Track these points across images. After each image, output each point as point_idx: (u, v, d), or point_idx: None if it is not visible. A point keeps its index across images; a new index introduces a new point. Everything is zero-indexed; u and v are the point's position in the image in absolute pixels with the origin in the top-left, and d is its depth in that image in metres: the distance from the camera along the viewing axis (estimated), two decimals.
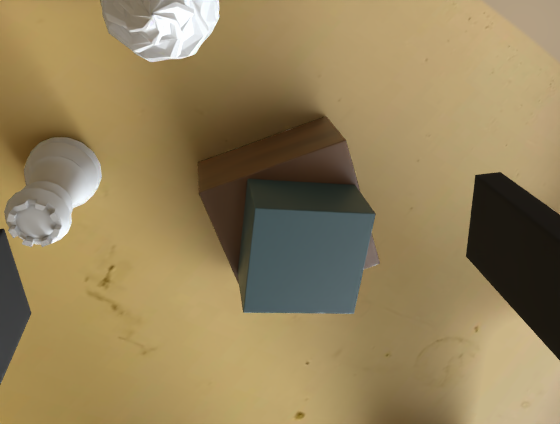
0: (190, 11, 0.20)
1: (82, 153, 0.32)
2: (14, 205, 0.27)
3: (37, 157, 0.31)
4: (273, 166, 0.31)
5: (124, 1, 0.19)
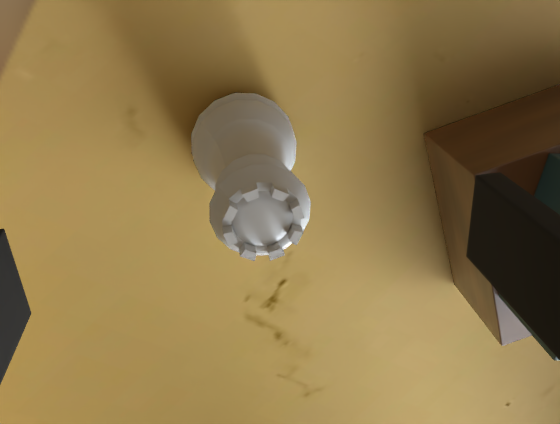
0: None
1: (281, 116, 0.22)
2: (233, 192, 0.16)
3: (221, 122, 0.21)
4: None
5: None
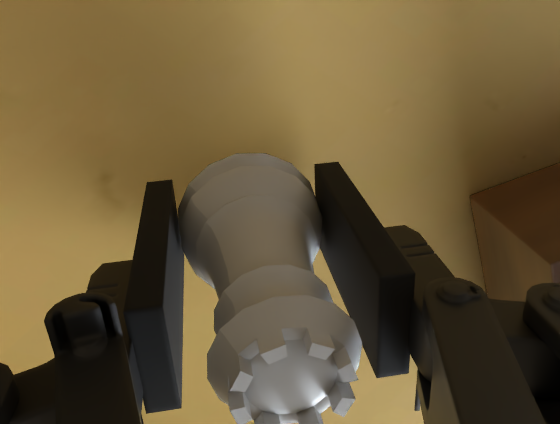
0: None
1: (302, 186, 0.16)
2: (245, 344, 0.10)
3: (219, 199, 0.15)
4: None
5: None
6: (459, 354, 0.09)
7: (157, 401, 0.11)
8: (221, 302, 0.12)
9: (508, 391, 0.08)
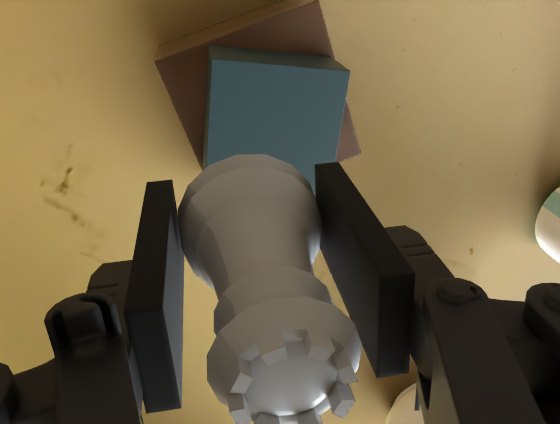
0: None
1: (302, 187, 0.16)
2: (244, 346, 0.10)
3: (219, 200, 0.15)
4: (237, 30, 0.28)
5: None
6: (459, 354, 0.09)
7: (157, 401, 0.11)
8: (221, 303, 0.12)
9: (508, 391, 0.08)
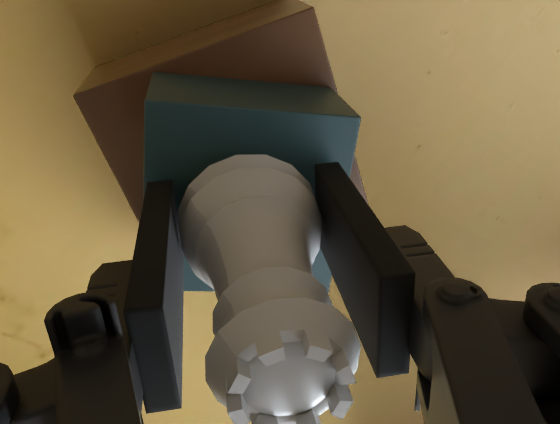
0: None
1: (302, 187, 0.16)
2: (243, 346, 0.10)
3: (219, 200, 0.15)
4: (195, 51, 0.19)
5: None
6: (459, 354, 0.09)
7: (156, 402, 0.11)
8: (220, 304, 0.12)
9: (508, 391, 0.08)
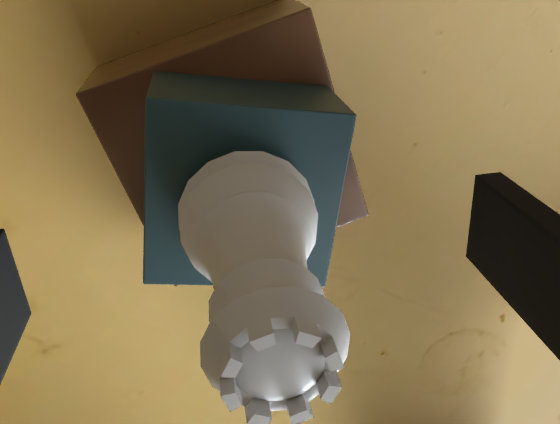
0: None
1: (298, 183, 0.16)
2: (235, 332, 0.11)
3: (216, 195, 0.15)
4: (194, 50, 0.19)
5: None
6: None
7: None
8: (215, 293, 0.12)
9: None
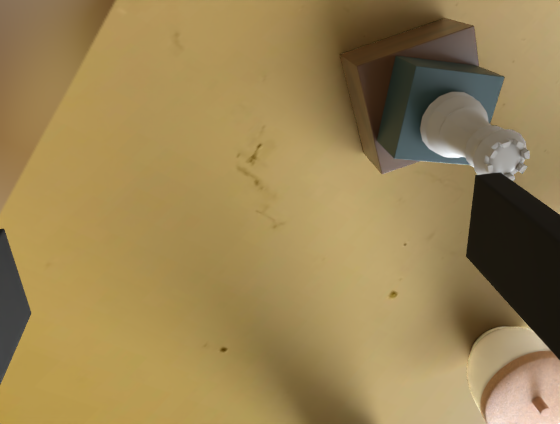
0: None
1: (482, 106, 0.36)
2: (493, 144, 0.30)
3: (451, 108, 0.35)
4: (416, 46, 0.39)
5: None
6: None
7: None
8: (470, 139, 0.32)
9: None
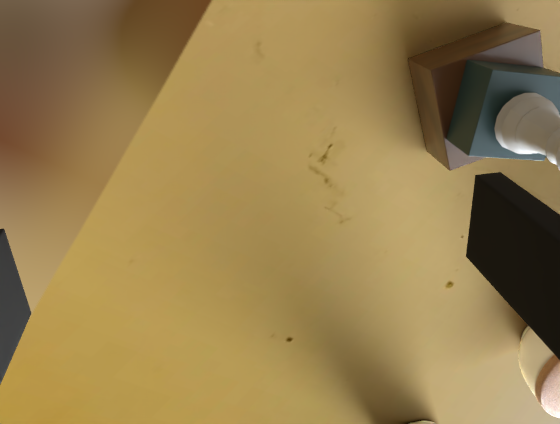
0: None
1: (554, 105, 0.38)
2: None
3: (526, 108, 0.37)
4: (486, 50, 0.42)
5: None
6: None
7: None
8: (551, 137, 0.35)
9: None
